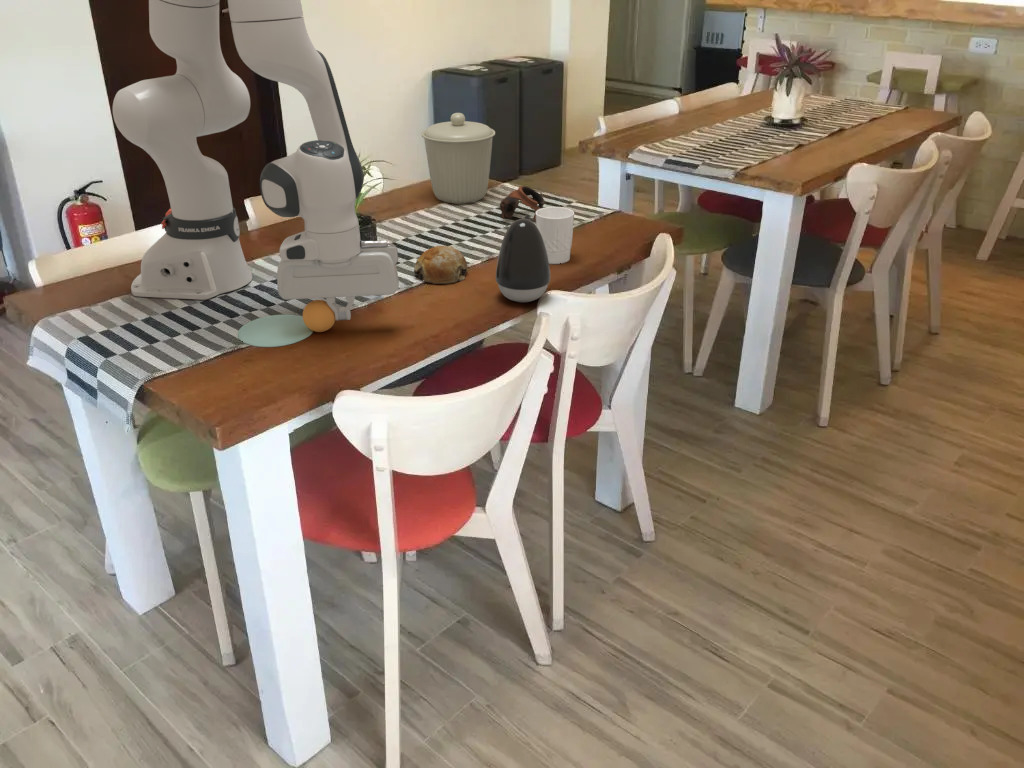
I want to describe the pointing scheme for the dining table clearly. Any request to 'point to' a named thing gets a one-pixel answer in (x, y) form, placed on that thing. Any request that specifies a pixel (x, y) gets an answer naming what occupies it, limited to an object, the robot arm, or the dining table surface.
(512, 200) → the brown curved piece
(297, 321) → the teal disc
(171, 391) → the dining table surface
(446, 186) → the canister
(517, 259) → the dark grey egg shape
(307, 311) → the ball
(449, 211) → the dining table surface
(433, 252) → the bread roll
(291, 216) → the robot arm
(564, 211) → the white cup
